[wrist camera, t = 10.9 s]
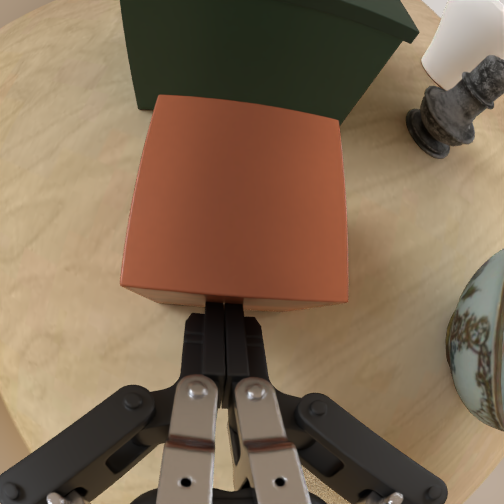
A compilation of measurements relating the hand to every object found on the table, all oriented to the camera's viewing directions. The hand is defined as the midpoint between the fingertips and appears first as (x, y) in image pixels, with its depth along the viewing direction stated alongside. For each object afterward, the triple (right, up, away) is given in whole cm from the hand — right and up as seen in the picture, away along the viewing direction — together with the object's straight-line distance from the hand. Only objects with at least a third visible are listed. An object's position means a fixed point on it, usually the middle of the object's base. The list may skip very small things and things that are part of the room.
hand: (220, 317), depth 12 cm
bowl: (+18, -4, +7) cm, 20 cm away
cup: (+24, +24, +14) cm, 36 cm away
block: (0, +3, +5) cm, 6 cm away
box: (+1, +19, +8) cm, 20 cm away
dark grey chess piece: (+17, +13, +10) cm, 24 cm away
